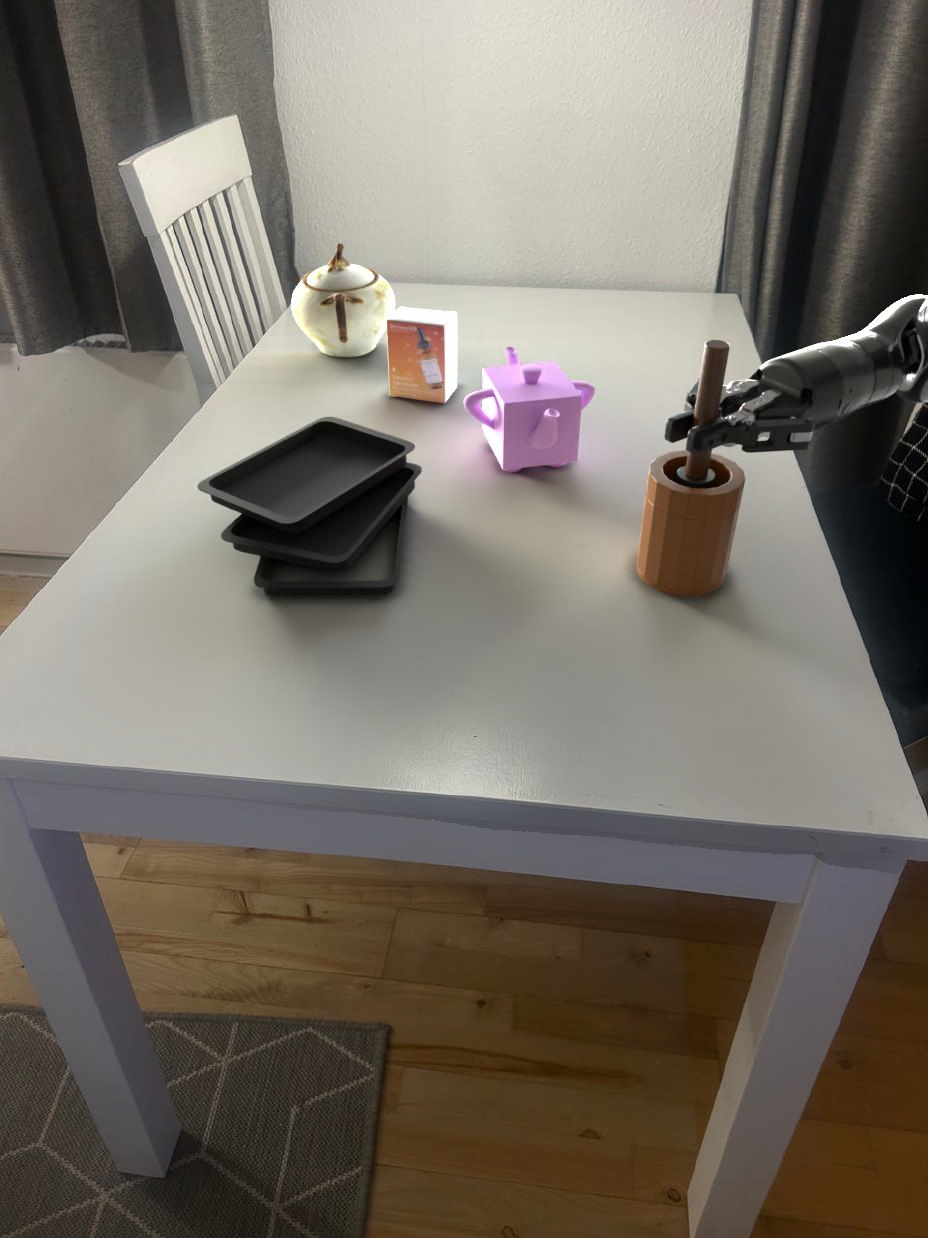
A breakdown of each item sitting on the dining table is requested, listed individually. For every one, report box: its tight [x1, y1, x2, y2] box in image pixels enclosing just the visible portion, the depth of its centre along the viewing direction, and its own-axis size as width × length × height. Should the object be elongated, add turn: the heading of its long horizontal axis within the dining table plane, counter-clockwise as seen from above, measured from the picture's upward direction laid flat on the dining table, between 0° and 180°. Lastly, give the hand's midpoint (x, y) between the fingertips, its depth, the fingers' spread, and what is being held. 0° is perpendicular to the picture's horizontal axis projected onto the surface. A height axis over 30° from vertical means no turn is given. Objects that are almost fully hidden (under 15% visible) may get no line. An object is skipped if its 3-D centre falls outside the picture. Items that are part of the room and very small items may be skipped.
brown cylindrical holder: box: [636, 449, 746, 597], centre depth 85 cm, size 8×8×11 cm
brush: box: [676, 339, 731, 489], centre depth 80 cm, size 3×3×18 cm
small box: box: [386, 305, 458, 404], centre depth 120 cm, size 8×6×10 cm
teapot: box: [463, 346, 596, 473], centre depth 105 cm, size 15×13×11 cm
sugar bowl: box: [290, 242, 396, 358], centre depth 131 cm, size 20×15×15 cm
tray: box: [196, 416, 423, 596], centre depth 95 cm, size 30×23×5 cm
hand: (679, 436), depth 78 cm, fingers closed on brush, 2 cm apart
